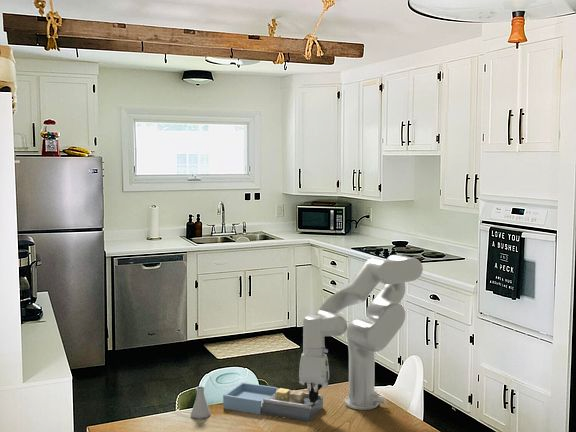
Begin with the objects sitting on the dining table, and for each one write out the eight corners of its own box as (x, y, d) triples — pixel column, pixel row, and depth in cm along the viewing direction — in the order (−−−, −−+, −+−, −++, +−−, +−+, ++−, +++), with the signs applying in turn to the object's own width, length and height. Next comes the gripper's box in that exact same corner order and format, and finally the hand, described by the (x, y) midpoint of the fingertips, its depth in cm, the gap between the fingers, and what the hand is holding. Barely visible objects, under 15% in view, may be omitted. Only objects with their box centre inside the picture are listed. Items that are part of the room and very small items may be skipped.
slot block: (322, 407, 224) (322, 393, 224) (309, 422, 211) (309, 407, 211) (278, 400, 231) (278, 387, 231) (262, 414, 218) (262, 400, 218)
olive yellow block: (289, 397, 223) (289, 389, 223) (285, 401, 220) (285, 393, 220) (279, 396, 225) (279, 388, 225) (275, 399, 221) (275, 391, 221)
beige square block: (303, 399, 221) (303, 391, 221) (299, 403, 218) (299, 395, 217) (293, 398, 223) (293, 390, 223) (289, 401, 219) (289, 393, 219)
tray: (277, 400, 232) (277, 387, 231) (260, 414, 218) (260, 401, 218) (242, 394, 238) (242, 382, 237) (223, 408, 224) (223, 395, 224)
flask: (206, 419, 214) (206, 392, 213) (187, 418, 215) (186, 390, 214) (213, 412, 221) (213, 385, 220) (194, 410, 222) (194, 383, 221)
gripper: (337, 350, 217) (337, 400, 218) (298, 345, 223) (298, 395, 224) (330, 356, 210) (330, 408, 211) (290, 351, 216) (290, 402, 217)
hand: (313, 401), depth 218 cm, fingers closed
